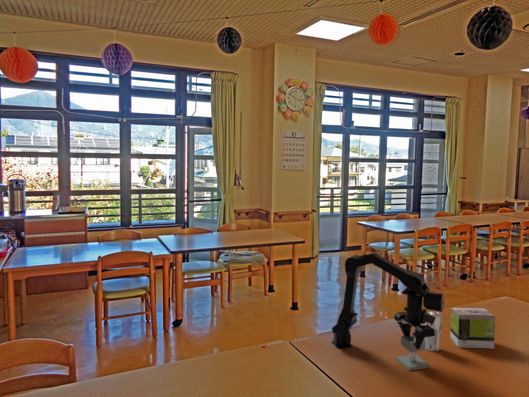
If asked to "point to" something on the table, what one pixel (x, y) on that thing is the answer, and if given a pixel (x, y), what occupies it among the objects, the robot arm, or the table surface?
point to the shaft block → (412, 361)
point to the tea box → (472, 327)
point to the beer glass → (433, 341)
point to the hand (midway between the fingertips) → (412, 345)
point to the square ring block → (411, 343)
